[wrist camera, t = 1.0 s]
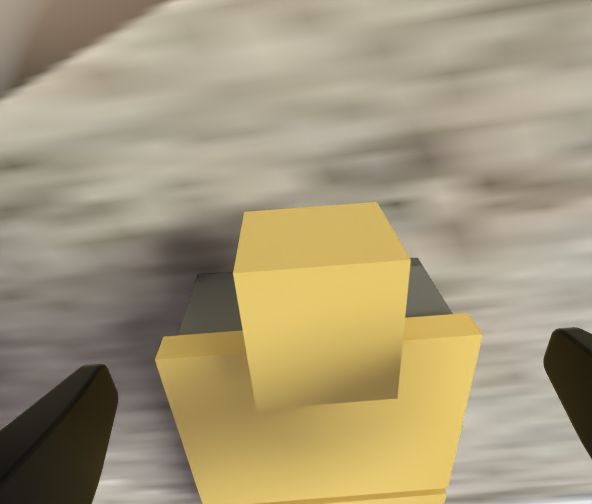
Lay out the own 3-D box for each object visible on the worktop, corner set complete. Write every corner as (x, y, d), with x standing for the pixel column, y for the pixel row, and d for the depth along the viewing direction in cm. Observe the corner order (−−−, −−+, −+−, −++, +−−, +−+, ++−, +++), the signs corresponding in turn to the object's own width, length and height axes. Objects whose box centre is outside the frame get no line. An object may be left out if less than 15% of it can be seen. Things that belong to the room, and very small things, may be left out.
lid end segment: (438, 463, 16) (469, 546, 14) (207, 481, 16) (194, 569, 13) (491, 193, 10) (565, 247, 8) (128, 220, 10) (76, 285, 8)
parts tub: (401, 463, 23) (430, 564, 18) (237, 476, 23) (228, 581, 18) (425, 257, 16) (481, 342, 12) (190, 275, 16) (157, 367, 11)
